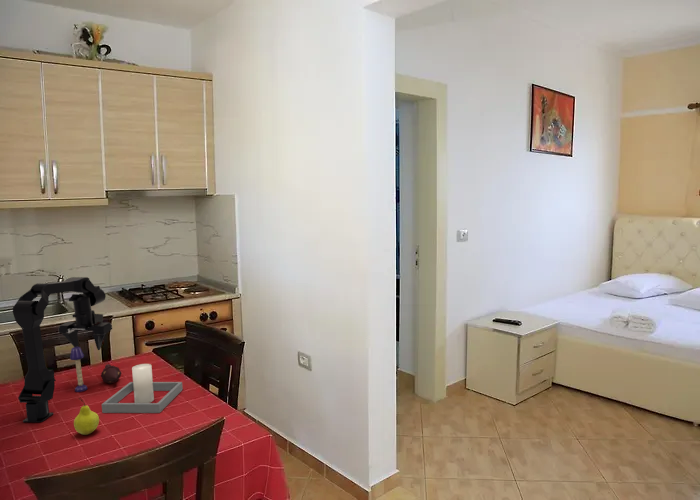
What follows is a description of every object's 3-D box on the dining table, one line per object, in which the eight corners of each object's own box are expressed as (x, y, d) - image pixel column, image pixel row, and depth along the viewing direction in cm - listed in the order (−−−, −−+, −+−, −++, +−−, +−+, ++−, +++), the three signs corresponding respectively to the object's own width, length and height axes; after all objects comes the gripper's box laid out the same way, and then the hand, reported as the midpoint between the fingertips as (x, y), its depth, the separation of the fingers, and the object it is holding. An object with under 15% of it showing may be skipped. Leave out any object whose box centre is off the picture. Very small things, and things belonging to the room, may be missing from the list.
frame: (159, 412, 175) (158, 404, 174) (102, 412, 176) (101, 404, 176) (182, 389, 195) (182, 382, 194) (130, 389, 196) (130, 382, 196)
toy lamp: (83, 392, 194) (79, 349, 192) (70, 392, 195) (66, 349, 192) (89, 387, 199) (85, 345, 197) (77, 387, 199) (73, 345, 197)
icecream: (127, 368, 200) (117, 362, 212) (106, 368, 196) (98, 361, 208) (124, 387, 200) (114, 379, 212) (103, 387, 195) (95, 379, 207)
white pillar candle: (149, 404, 182) (146, 370, 180) (131, 404, 182) (128, 370, 181) (157, 397, 188) (154, 363, 187) (139, 397, 189) (137, 363, 187)
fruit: (94, 426, 166) (90, 390, 165) (104, 432, 162) (100, 395, 161) (71, 434, 161) (67, 397, 160) (81, 440, 157) (77, 402, 155)
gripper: (118, 304, 201) (123, 342, 204) (75, 303, 204) (80, 341, 207) (100, 312, 190) (105, 353, 193) (54, 312, 194) (60, 351, 196)
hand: (88, 349), depth 198 cm, fingers open, 9 cm apart
